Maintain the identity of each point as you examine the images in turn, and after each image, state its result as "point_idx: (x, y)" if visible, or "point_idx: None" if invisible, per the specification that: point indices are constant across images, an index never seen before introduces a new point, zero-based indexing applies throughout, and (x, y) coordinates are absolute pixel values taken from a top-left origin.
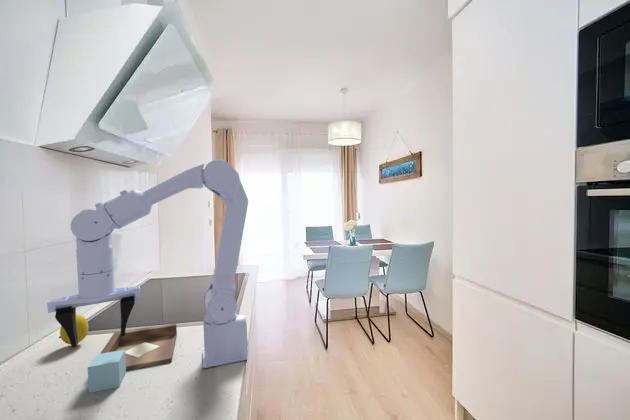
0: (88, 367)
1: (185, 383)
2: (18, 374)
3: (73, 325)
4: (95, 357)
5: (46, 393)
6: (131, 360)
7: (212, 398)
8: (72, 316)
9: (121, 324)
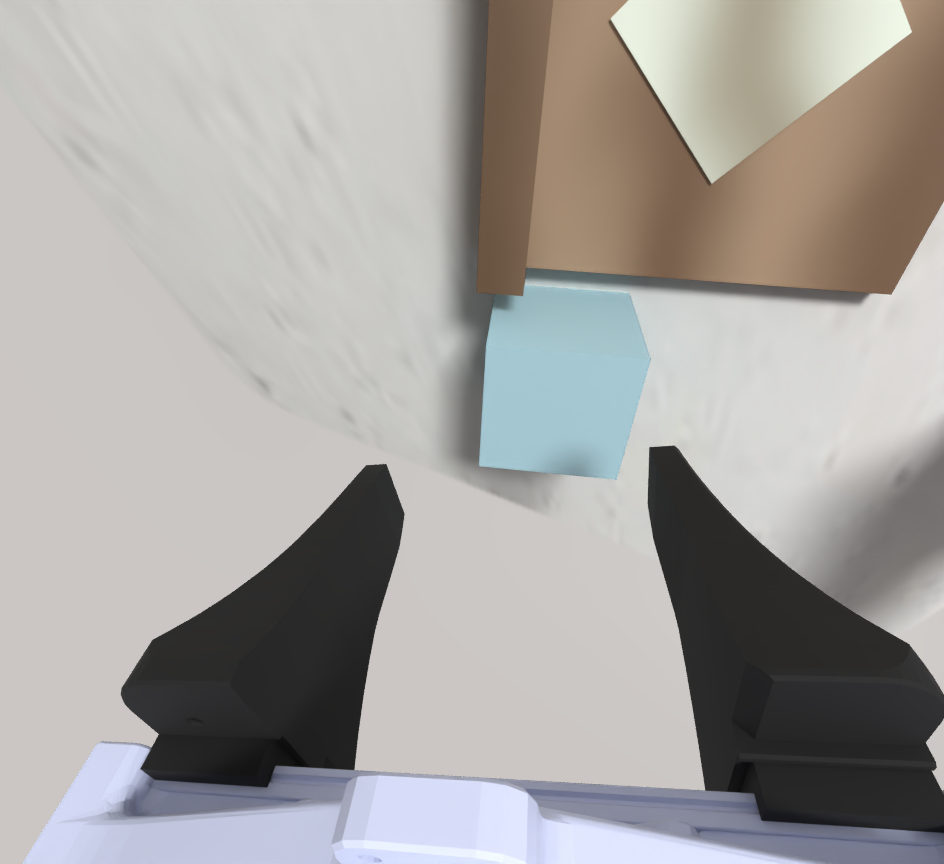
0: (482, 463)
1: (844, 491)
2: None
3: (362, 653)
4: (490, 382)
5: (314, 318)
6: (667, 207)
7: (877, 589)
8: (347, 751)
9: (673, 598)
